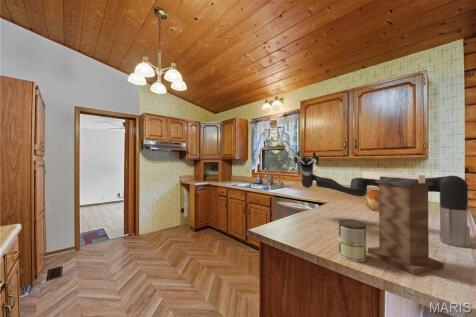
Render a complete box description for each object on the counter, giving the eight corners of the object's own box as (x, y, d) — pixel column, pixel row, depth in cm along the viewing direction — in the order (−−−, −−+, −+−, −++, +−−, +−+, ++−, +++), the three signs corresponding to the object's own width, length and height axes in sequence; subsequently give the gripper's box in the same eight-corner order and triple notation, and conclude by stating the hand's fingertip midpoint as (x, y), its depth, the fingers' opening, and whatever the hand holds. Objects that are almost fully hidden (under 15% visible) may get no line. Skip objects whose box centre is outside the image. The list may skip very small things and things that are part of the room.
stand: (367, 252, 89) (367, 176, 89) (394, 248, 94) (394, 175, 94) (413, 274, 72) (412, 180, 72) (443, 268, 76) (443, 179, 77)
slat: (362, 178, 99) (362, 171, 99) (368, 177, 100) (368, 171, 100) (418, 183, 76) (418, 175, 76) (425, 183, 77) (425, 175, 77)
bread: (390, 212, 160) (390, 194, 160) (371, 211, 165) (371, 193, 165) (382, 206, 183) (382, 190, 183) (366, 205, 188) (366, 189, 188)
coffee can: (334, 250, 91) (334, 219, 91) (356, 250, 91) (356, 219, 92) (347, 262, 81) (347, 226, 81) (372, 261, 81) (372, 226, 81)
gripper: (318, 173, 128) (318, 158, 116) (294, 171, 134) (292, 156, 122) (319, 164, 132) (319, 148, 120) (296, 161, 138) (295, 146, 126)
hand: (306, 152), depth 121 cm, fingers open, 8 cm apart
